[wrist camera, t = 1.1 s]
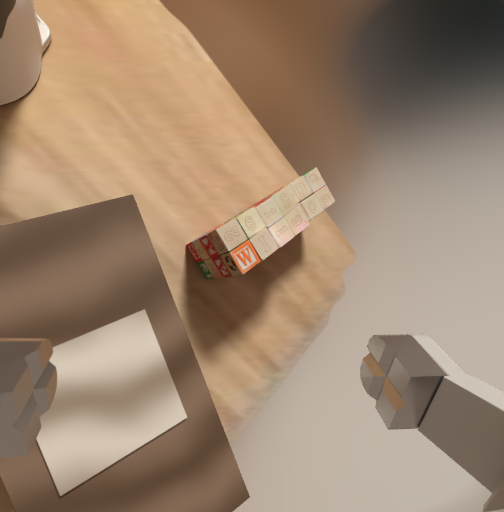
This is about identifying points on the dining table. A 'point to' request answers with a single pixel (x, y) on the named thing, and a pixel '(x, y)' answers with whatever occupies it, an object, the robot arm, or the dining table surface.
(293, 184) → the stack of blocks
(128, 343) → the cubby
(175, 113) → the dining table surface
